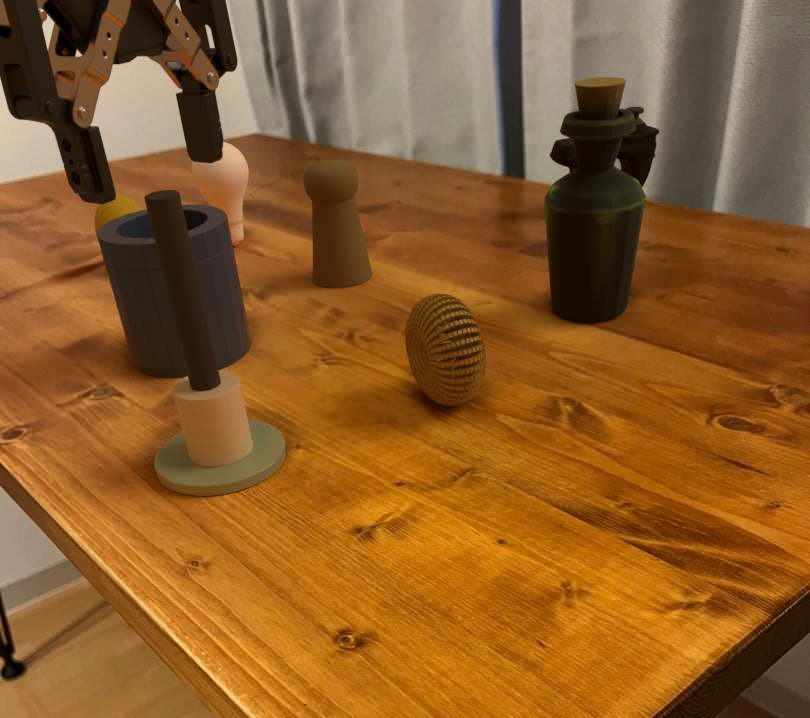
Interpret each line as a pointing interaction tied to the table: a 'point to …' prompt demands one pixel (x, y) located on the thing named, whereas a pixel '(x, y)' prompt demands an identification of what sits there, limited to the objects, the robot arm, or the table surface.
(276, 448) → the coaster
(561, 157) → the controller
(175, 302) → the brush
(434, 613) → the table surface
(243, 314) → the jar
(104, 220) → the lemon
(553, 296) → the potion bottle
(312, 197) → the cork
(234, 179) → the lightbulb
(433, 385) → the sculpture
